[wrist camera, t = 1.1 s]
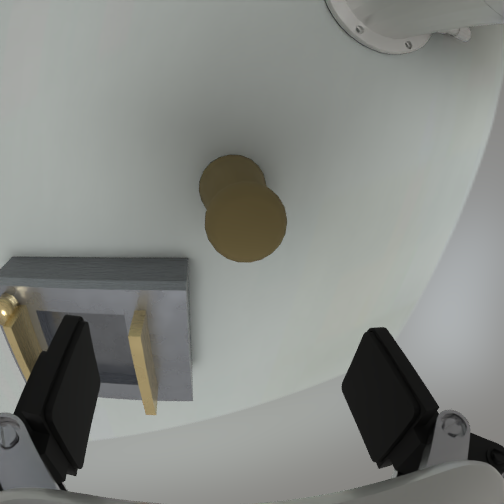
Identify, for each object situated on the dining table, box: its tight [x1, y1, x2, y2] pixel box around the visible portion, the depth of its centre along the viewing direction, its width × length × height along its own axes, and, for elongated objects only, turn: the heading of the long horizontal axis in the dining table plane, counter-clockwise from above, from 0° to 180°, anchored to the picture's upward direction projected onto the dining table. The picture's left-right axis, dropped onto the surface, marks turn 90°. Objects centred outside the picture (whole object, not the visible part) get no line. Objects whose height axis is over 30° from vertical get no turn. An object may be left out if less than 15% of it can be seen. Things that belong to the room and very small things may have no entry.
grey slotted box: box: [0, 257, 193, 415], centre depth 28 cm, size 20×14×10 cm
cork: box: [199, 155, 287, 262], centre depth 24 cm, size 6×6×11 cm
